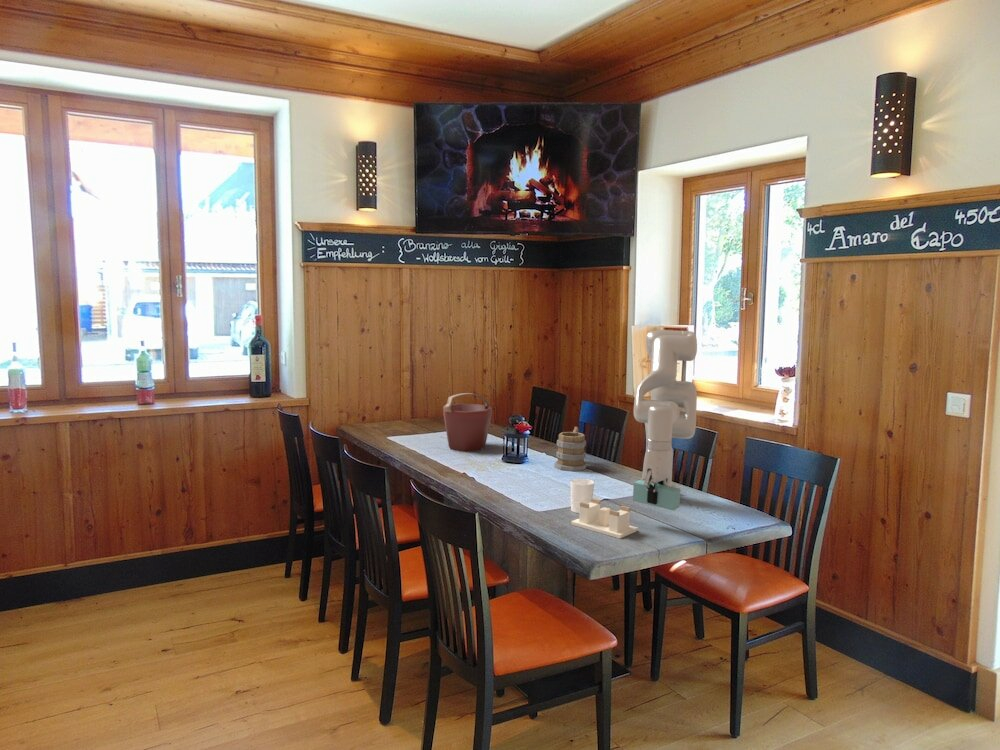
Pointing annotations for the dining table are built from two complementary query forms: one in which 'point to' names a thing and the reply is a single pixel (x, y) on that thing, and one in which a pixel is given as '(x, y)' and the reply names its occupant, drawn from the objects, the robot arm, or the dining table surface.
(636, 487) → the teal bar
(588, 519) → the stand
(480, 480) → the dining table surface
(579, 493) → the white cup
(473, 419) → the bucket
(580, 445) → the tankard
